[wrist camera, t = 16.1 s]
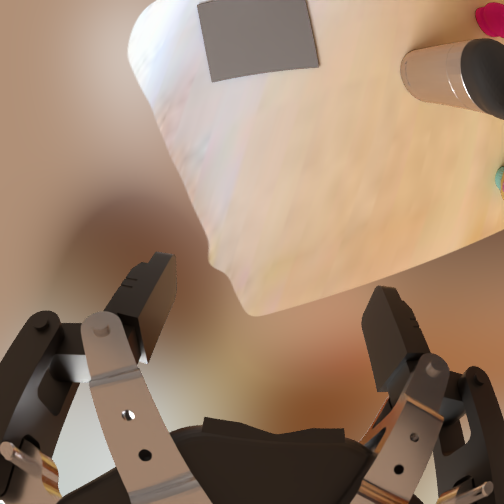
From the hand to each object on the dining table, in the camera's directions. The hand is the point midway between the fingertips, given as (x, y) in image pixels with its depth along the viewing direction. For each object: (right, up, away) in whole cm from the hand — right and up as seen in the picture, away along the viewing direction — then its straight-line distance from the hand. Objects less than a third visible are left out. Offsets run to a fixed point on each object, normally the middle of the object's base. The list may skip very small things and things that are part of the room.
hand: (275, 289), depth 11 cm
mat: (0, +34, +22) cm, 40 cm away
